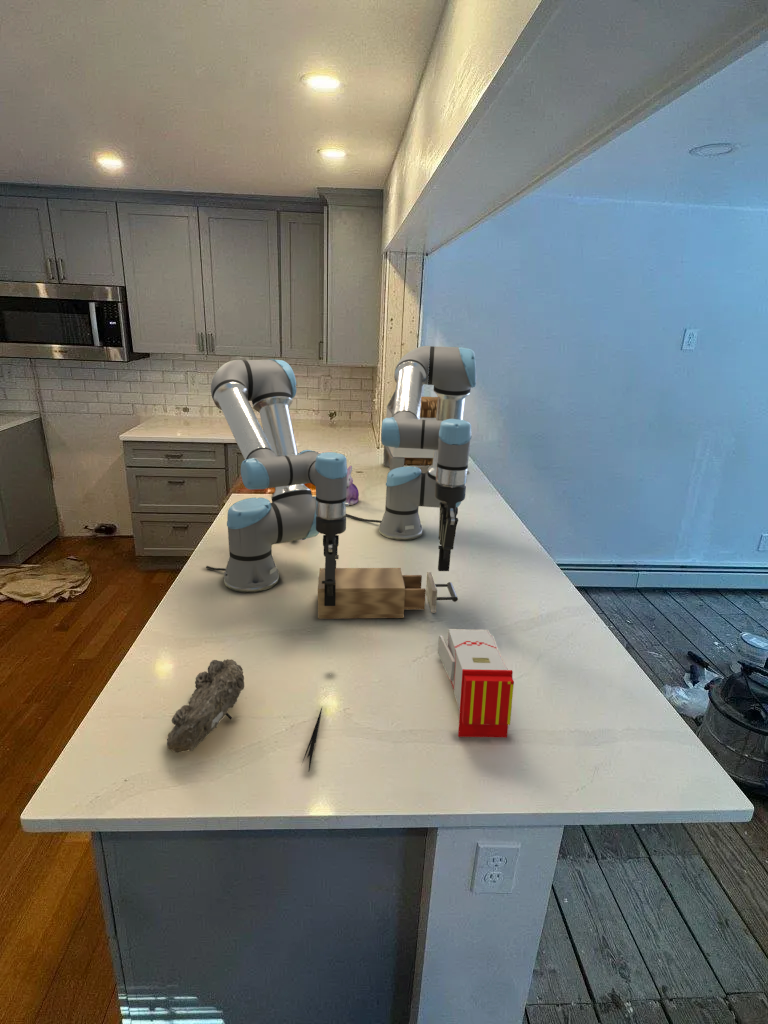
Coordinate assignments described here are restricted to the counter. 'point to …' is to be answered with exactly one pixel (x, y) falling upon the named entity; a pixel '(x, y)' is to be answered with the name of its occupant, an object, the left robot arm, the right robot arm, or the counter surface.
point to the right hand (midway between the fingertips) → (443, 569)
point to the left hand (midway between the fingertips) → (330, 593)
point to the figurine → (351, 489)
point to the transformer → (411, 455)
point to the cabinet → (364, 593)
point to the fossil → (206, 705)
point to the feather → (313, 740)
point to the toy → (478, 682)
